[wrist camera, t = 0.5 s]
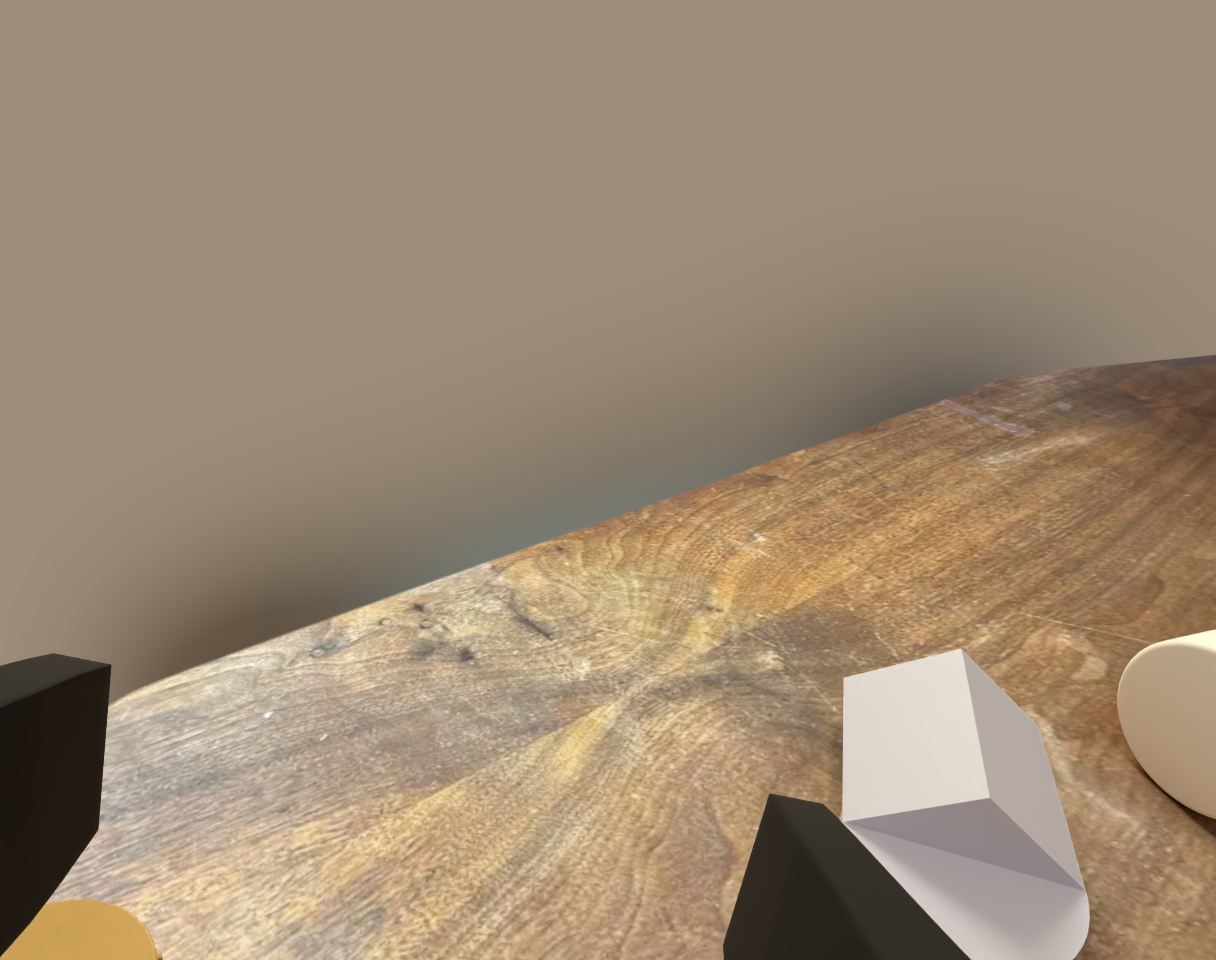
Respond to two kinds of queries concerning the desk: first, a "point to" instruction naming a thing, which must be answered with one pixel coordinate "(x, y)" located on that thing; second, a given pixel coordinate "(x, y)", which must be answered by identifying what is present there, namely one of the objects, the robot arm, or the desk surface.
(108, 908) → the lid
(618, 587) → the desk surface
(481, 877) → the desk surface
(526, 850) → the desk surface
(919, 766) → the wedge on round base
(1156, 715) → the mug
